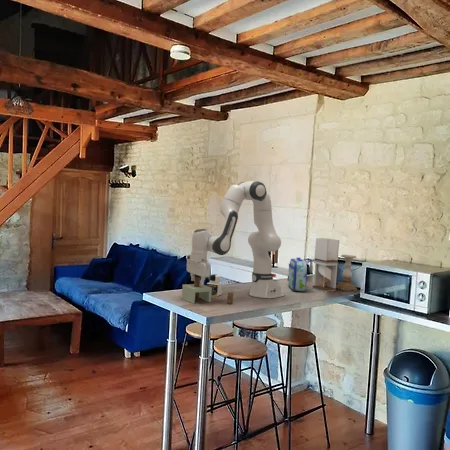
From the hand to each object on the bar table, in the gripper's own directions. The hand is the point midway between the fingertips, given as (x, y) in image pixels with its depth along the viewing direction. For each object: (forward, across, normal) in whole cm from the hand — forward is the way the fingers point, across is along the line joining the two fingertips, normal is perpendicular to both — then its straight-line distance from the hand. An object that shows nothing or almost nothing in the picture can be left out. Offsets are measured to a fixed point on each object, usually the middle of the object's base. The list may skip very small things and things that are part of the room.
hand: (197, 282), depth 249 cm
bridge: (+10, 0, 0) cm, 10 cm away
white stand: (+10, 0, -101) cm, 102 cm away
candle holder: (+10, -4, -119) cm, 120 cm away
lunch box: (+10, +8, -83) cm, 84 cm away
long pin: (+10, 0, 0) cm, 10 cm away
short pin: (+10, -13, -14) cm, 22 cm away
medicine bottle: (+10, +10, -18) cm, 23 cm away
